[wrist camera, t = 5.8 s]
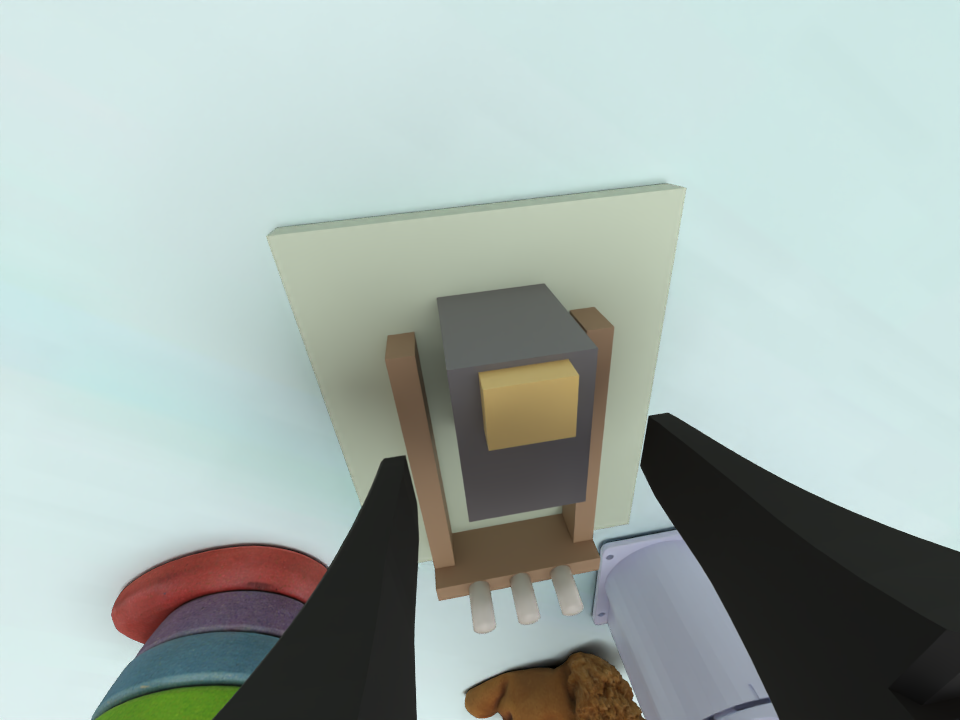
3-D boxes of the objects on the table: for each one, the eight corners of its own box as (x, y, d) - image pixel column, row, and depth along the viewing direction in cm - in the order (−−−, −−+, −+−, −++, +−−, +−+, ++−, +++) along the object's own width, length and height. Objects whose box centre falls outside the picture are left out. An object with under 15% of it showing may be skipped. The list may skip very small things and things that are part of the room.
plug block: (544, 411, 18) (595, 521, 13) (455, 425, 18) (472, 543, 13) (544, 283, 15) (611, 363, 10) (436, 297, 14) (449, 387, 9)
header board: (619, 506, 24) (672, 605, 19) (385, 549, 23) (377, 666, 18) (667, 183, 15) (795, 213, 10) (277, 227, 14) (199, 287, 9)
